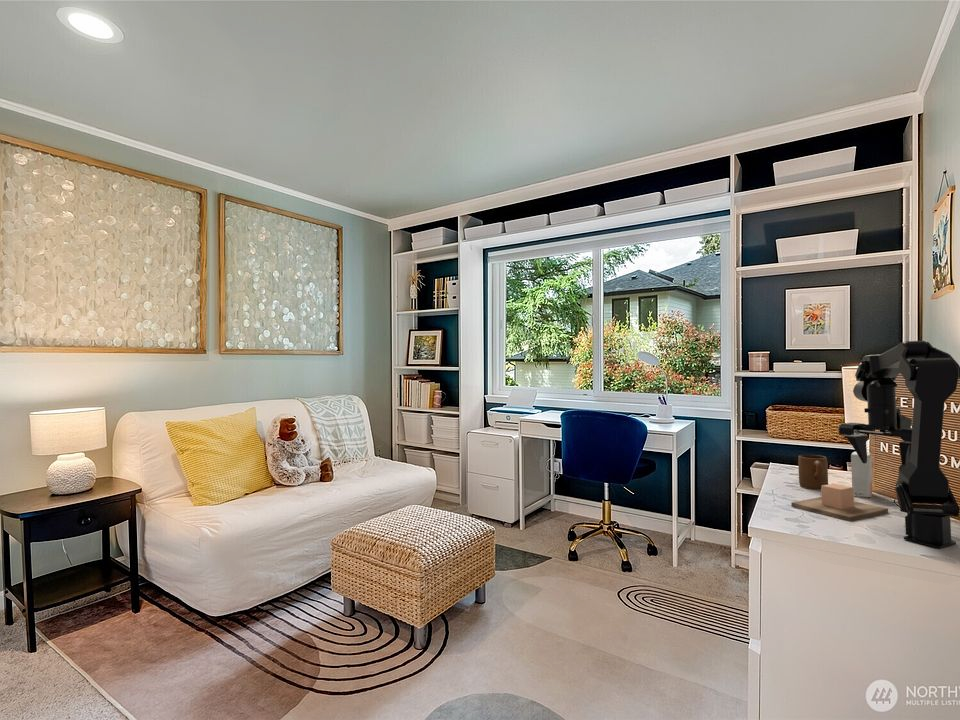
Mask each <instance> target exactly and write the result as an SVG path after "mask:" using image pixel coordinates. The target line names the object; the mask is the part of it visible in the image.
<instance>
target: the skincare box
mask: <svg viewBox="0 0 960 720" xmlns="http://www.w3.org/2000/svg"><path fill="white" fill-rule="evenodd" d="M850 462H851V463H850V464H851V468H850V469H851V487H853V489H854V497H858V498H859V497H860V498H868V497H870V498H871V497H872V495H873V472H872V471H873V470H872V453H871V452H867V463H862V461H861V459H860V458H859V456H858V454H857V452H856V451H853V452H851V454H850Z"/></svg>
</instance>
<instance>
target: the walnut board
mask: <svg viewBox="0 0 960 720" xmlns="http://www.w3.org/2000/svg"><path fill="white" fill-rule="evenodd" d="M790 504H791V507H792V506H793V508H797V509H800V508H801V509H800V510H805V511H808V512H812V511H813V513H816V512H817V513H816V514H822V515H824V516H828V515H829V517H832V516H833V518H836V517H837V518H836V519H839V520H844V521H848V522H852V521H857V520H861V519H866V518H869V517H874V516H879V515H883V514H887V513H889V508H887V507H882V506H878V505H874V504H873V505H872V504H869V503H863V502H860V501H856V500H854V507H850V508H845V509H839V508H834V507H830V506H826V505H822V496H819V497H815V498H809V499H803V500H799V501H792V502H791V503H790Z"/></svg>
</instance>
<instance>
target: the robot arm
mask: <svg viewBox="0 0 960 720" xmlns="http://www.w3.org/2000/svg"><path fill="white" fill-rule="evenodd" d="M900 374H901V376H902V377H903V379H904V384H905V387H906V388H907V390H908V391H909V392H910V394H911V395H912V396H913V411H912V412H913V414H912V418H910V417H907V416H906V415H902V414H901V410H900V409H901V408H900V407H897V392H896V390H897V389H896V387H898V384H897V382H896V381H895V380H896V379H897V378H898V375H900ZM854 376H855V381H857V382H856V383H855V385H854V387H853V389H852V392H853V396H854V397H855V398H856V399H858V400H859V401H861V402H866V403H867V407H866V408H865V407H864V409H863V411H864V413H865V414H866V413H867V418H868V421H867V422H868V423H867V424H866V423H862V422H861V423H859V422H847V423H840V424H839V426H838V427H837V428H838V435H843V438H844V439H847V441H848V442H849V443H850V445H851V446H852V448H853V449H854V452H857V454H858V456H859V458H860V459H861V461H862V463H867V453H868V452H867V451H868V450H867V440H868V438H869V435H874V436H883V437H893V438H894V437H895V438H900V439H901V440H902V441H899V442H898V445H899V446H898V447H899V453H900V462H901V464H900V466H899V467H898V478H897V481H896V483H895V487H894V490H895V493H896V497H897V498H896V499H897V504H898V506H899V512H901V513H904V514H905V513H906V514H907V515H905V516H904V522H905V523H904V525H905V527H904V528H905V536H903V540H905V541H910V542H912V543H913V542H914V543H917V544H919V545H920V544H921V545H924V546H928V547H932V548H935V549H942V548H946V547H949V546H953V545H957V540H953V539H952V527H951V526H952V525H951V524H952V523H951V517H955V518H956V517H957V518H959V516H960V506H959V504H958V502H957V500H956V498H955V496H954V494H953V492H952V490H951V487H950V483H949V482H950V481H949V479H948V478H947V476H946V475H945V474H944V472H943V471H942V469H941V467H940V466H941V465H940V464H941V455H942V454H941V450H942V438H943V427H944V425H943V423H944V416H945V415H944V413H945V402H947V400H948V399H949V398H950V397H951V396H952V395H953V394H954V393H955V392H956V391H957V389H958V383H959V379H960V365H959V363H958V362H957V361H956V360H955V359H954V357H952V355H951V354H950V353H948V352H946V351H943V350H941V349H938V348H936V347H933V345H932V344H931V343H930V342H929V341H925V340H908V341H907V340H906V341H902V342H898V343H897V345H896V346H894V347H893V348H891V349H888V350H886V351H885V352H883V353H881V354H869V355H864V356H863V357H862V359H861V360H860V362H859V364H858V366H857V369H856V371H855V374H854Z"/></svg>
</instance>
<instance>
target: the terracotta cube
mask: <svg viewBox="0 0 960 720" xmlns="http://www.w3.org/2000/svg"><path fill="white" fill-rule="evenodd" d="M821 497H822V505H826V506H830V507H834V508H839V509H845V508H850V507H854V501H855V496H854V489H853V487H852V486H849V485H843V484H838V483H830V484H829V483H828V485H822V486H821Z"/></svg>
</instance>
